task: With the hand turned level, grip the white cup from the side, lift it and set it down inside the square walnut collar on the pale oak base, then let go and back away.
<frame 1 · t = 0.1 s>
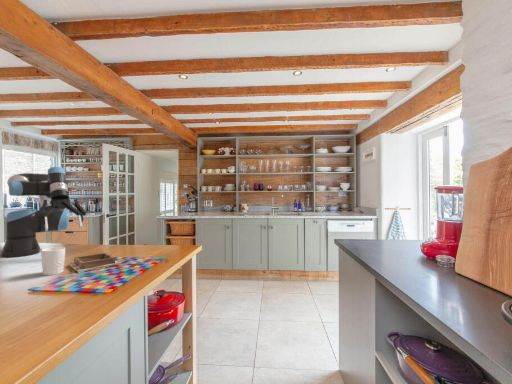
hand: (64, 228, 126), 15 cm above the counter, tool tilted 35°, fingers open, 13 cm apart
cup holder: (94, 265, 117), on the counter
white cup: (53, 273, 106), on the counter
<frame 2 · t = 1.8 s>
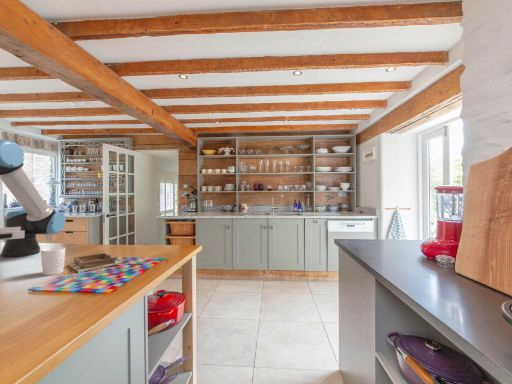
hand: (22, 232, 99), 18 cm above the counter, tool horizontal, fingers open, 13 cm apart
nothing on the counter moved.
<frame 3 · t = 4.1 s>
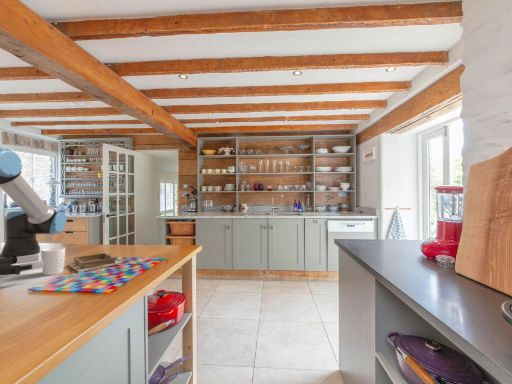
hand: (40, 260, 103), 6 cm above the counter, tool horizontal, fingers open, 13 cm apart
nothing on the counter moved.
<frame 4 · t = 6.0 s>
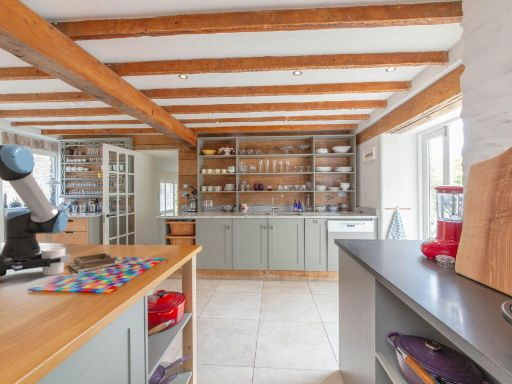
hand: (67, 256, 110), 6 cm above the counter, tool horizontal, fingers closed on white cup, 8 cm apart
white cup: (53, 273, 106), on the counter, touching gripper
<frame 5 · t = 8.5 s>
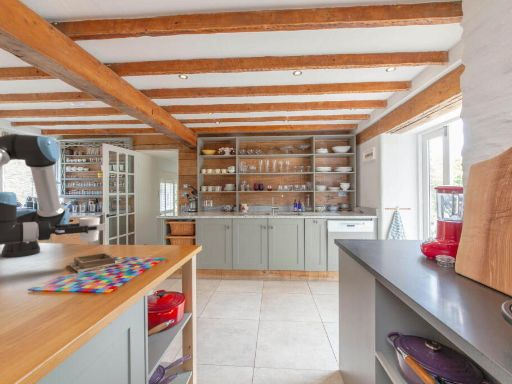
hand: (101, 225, 118), 18 cm above the counter, tool horizontal, fingers closed on white cup, 8 cm apart
white cup: (89, 240, 115), point 12 cm above the counter, touching gripper
when the fingers open (8 cm above the counter, at t = 11.3 s): white cup drops 1 cm, resting on cup holder.
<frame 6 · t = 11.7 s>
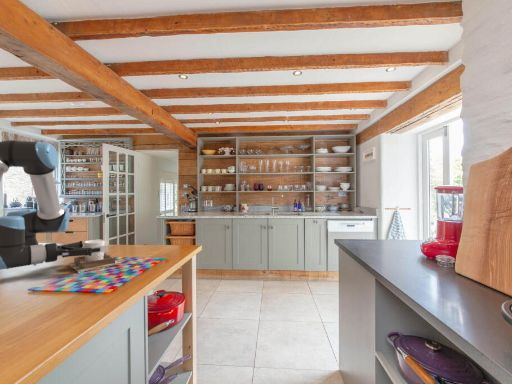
hand: (103, 245, 120), 8 cm above the counter, tool horizontal, fingers open, 13 cm apart
white cup: (94, 263, 117), point 1 cm above the counter, touching cup holder
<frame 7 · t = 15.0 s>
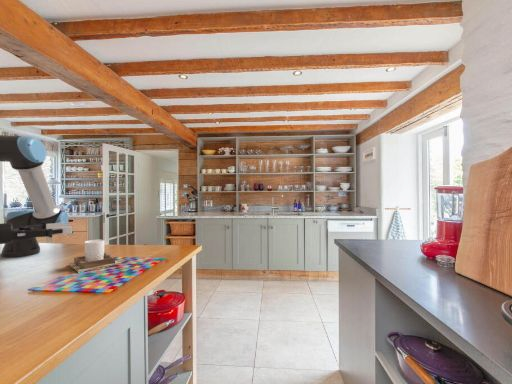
hand: (68, 227, 110), 18 cm above the counter, tool horizontal, fingers open, 13 cm apart
nothing on the counter moved.
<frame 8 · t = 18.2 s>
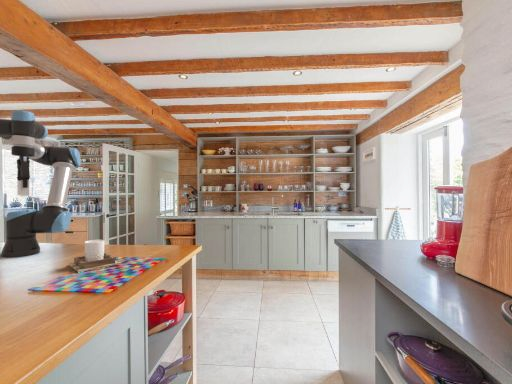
hand: (23, 195, 113), 32 cm above the counter, tool pointing down, fingers open, 13 cm apart
nothing on the counter moved.
at the end: white cup 0.1 cm off-centre on the cup holder, point 0.8 cm above the cup holder's base; white cup tilted 0°; the gripper is holding nothing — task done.
